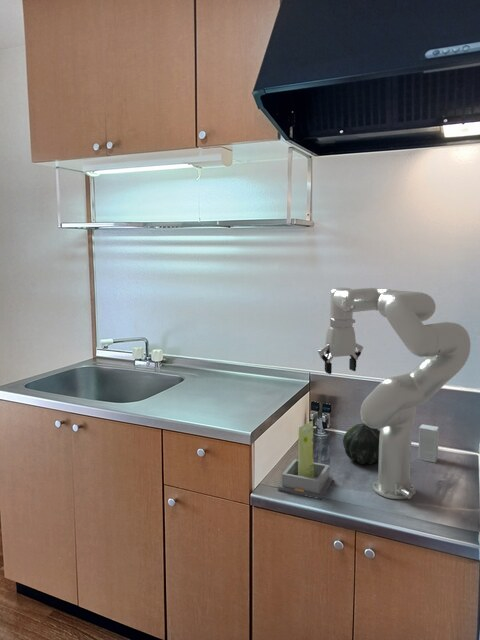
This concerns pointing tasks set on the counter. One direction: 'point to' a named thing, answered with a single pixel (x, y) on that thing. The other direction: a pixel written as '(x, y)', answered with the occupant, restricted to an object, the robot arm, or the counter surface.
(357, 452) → the squash
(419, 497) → the counter surface
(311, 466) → the tube
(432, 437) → the skincare box
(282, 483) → the socket
